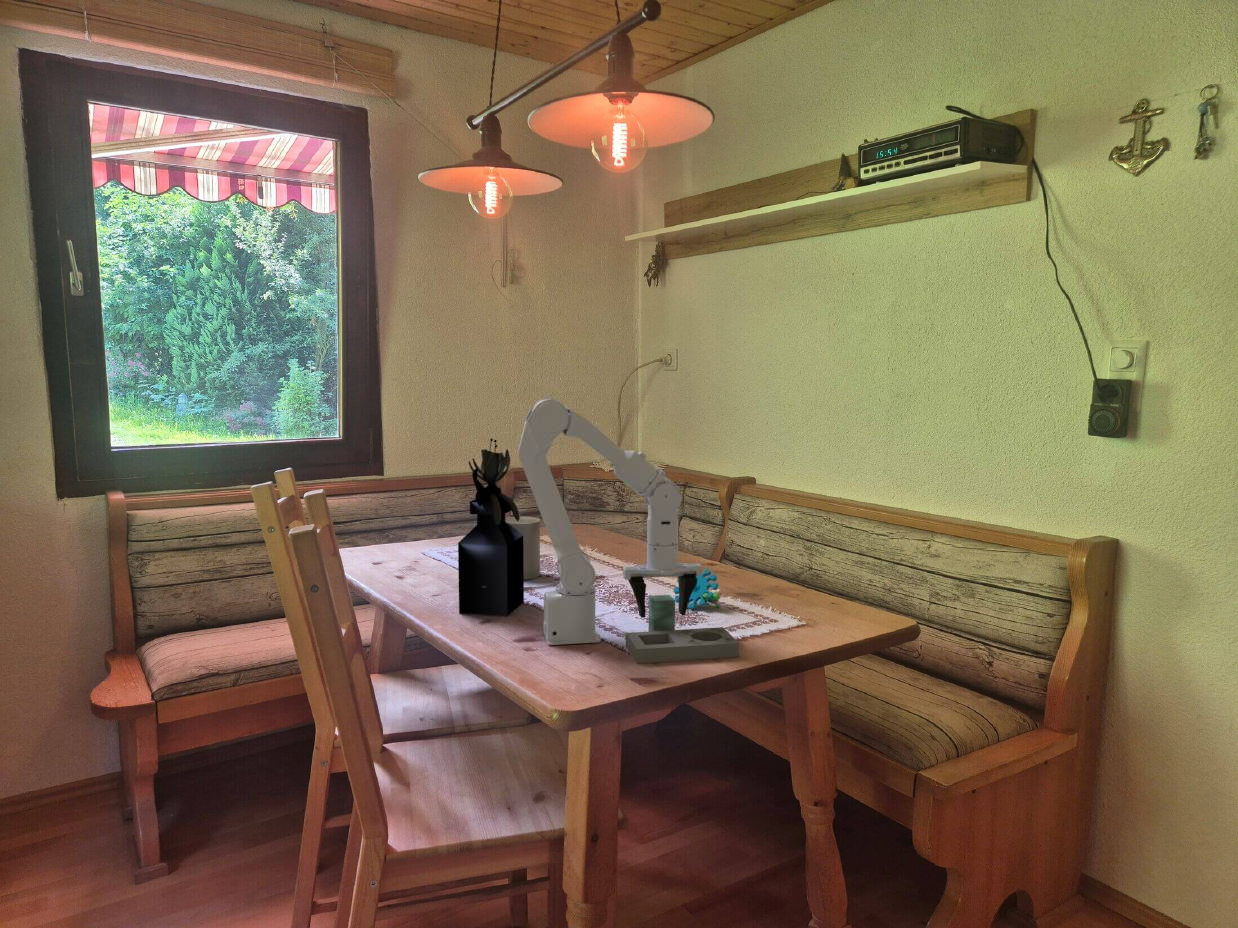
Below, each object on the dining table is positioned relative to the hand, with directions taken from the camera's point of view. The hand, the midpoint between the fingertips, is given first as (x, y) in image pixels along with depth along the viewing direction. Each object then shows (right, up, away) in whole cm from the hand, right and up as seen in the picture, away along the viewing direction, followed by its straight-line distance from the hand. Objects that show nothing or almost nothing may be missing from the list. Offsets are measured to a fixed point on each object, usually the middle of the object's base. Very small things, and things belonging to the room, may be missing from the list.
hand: (662, 614), depth 154 cm
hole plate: (+3, -5, -9) cm, 11 cm away
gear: (+8, -2, +20) cm, 21 cm away
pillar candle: (-32, +1, +45) cm, 55 cm away
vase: (-34, -2, +17) cm, 38 cm away
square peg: (0, -4, 0) cm, 4 cm away
